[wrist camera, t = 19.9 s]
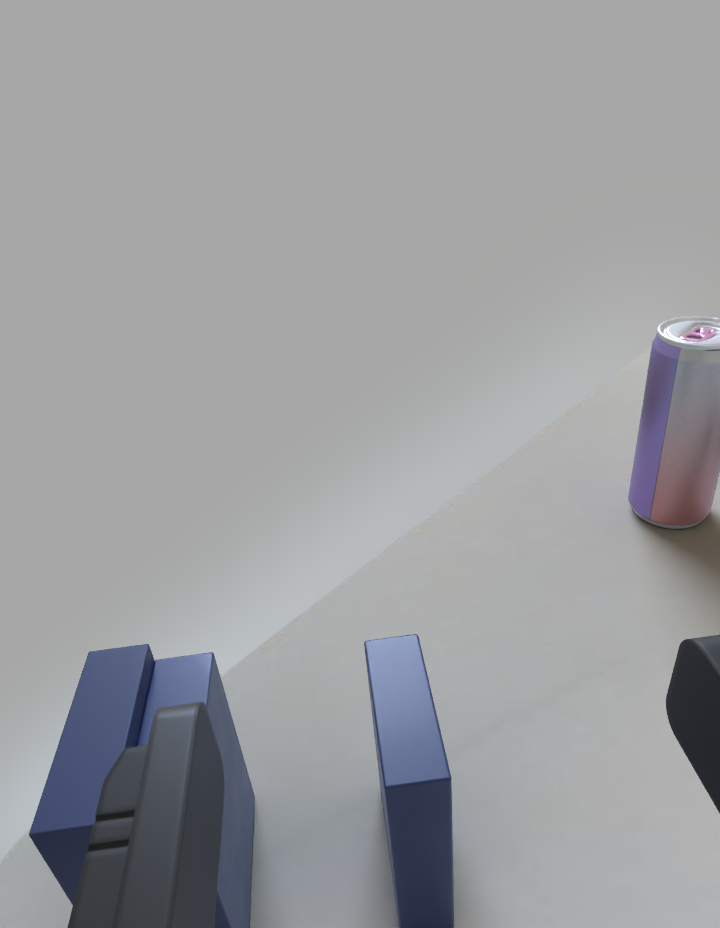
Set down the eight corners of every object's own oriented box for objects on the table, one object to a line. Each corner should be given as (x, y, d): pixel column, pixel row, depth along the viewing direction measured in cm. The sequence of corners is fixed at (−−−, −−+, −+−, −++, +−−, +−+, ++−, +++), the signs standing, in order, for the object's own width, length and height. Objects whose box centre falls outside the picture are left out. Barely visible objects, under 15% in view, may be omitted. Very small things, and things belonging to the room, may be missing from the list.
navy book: (454, 928, 29) (451, 778, 23) (400, 937, 29) (384, 788, 23) (425, 781, 35) (417, 632, 29) (380, 787, 35) (363, 640, 29)
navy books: (248, 972, 28) (186, 812, 22) (125, 991, 28) (28, 834, 22) (255, 796, 35) (208, 635, 29) (156, 810, 35) (88, 651, 29)
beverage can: (612, 511, 53) (638, 333, 45) (651, 480, 56) (681, 309, 49) (685, 542, 49) (727, 354, 41) (722, 507, 52) (767, 326, 45)
